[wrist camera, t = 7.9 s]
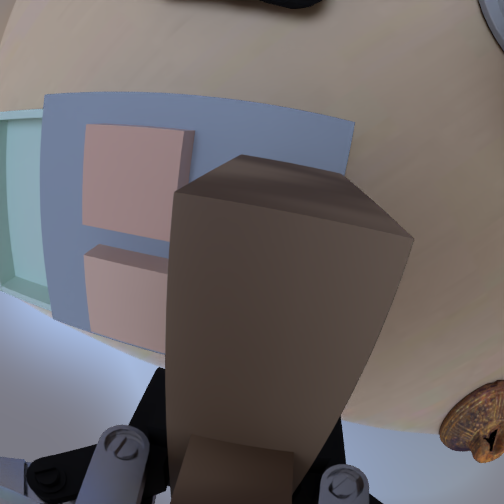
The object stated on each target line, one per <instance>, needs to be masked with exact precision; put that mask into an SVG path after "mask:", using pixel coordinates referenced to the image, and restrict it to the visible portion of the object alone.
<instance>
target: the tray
mask: <svg viewBox="0 0 504 504" xmlns="http://www.w3.org/2000/svg"><path fill="white" fill-rule="evenodd" d="M42 117H43V109H32V110H19V111H7V112H0V291H2V292H5V293H7V294H9V295H12V296H14V297H16V298H19V299H21V300H24V301H26V302H29V303H31V304H34V305H36V306H39V307H42V308H44V309H47V310H50V311H52V310H51V305H50V299H49V293H48V286H47V279H46V271H45V263H44V254H43V243H42V230H41V213H40V147H41V130H42Z"/></svg>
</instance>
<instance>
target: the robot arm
mask: <svg viewBox="0 0 504 504" xmlns="http://www.w3.org/2000/svg"><path fill="white" fill-rule="evenodd" d="M479 3H480V6H481V9H482V12H483V14H484V17H485V19H486V21H487V23H488V26H489V28H490V29H491V31H492V33H493V35H494V37H495V38H496V40H497V41H498V43H499V44H500V46H501V47H502V49H503V51H504V0H479ZM167 486H170V477H169V463H168V447H167V426H166V390H165V369H163V368H160V367H159V368H157V370H156V371H155V373H154V375H153V377H152V379H151V381H150V383H149V385H148V387H147V389H146V391H145V393H144V395H143V397H142V399H141V401H140V403H139V405H138V407H137V409H136V411H135V413H134V415H133V417H132V419H131V421H130V423H129V425H117V426H113V427H110V428H108V429H107V430H106V431H105V432H103V433H102V435H101V437H100V438H99V441H98V444H95V445H92V446H88V447H84V448H80V449H76V450H73V451H69V452H64V453H61V454H56V455H51V456H47V457H42V458H39V459H37V460H35V461H34V462H32V463H30V462H26V461H25V460H24V459H14V458H6V457H0V504H154V503H155V499H156V495H157V494H159V493H161V492H164V491H166V488H167ZM292 504H383V503H381V502H380V501H378V500H377V499H376V498H375V497H373V496H372V495H371V494H369V483H368V479H367V477H366V476H365V474H364V473H363V472H362V471H361V470H360V469H358V468H356V467H354V466H351V465H347V464H346V459H345V450H344V442H343V432H342V424H341V416H340V417H339V419H338V421H337V423H336V424H335V426H334V428H333V430H332V432H331V433H330V435H329V437H328V439H327V440H326V442H325V444H324V445H323V447H322V449H321V451H320V452H319V454H318V456H317V457H316V459H315V460H314V462H313V464H312V465H311V467H310V468H309V470H308V472H307V473H306V475H305V476H304V478H303V479H302V481H301V482H300V484H299V485H298V487H297V488H296V490H295V491H294V493H293V494H292Z"/></svg>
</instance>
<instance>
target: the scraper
mask: <svg viewBox="0 0 504 504" xmlns="http://www.w3.org/2000/svg"><path fill="white" fill-rule="evenodd" d="M413 242H414V238H413V237H412V236H411V235H410V234H409V233H407V232H406V231H405V230H404V229H403V228H402V227H401V226H400V225H399V224H398V223H397V222H396V221H395V220H394V219H393V218H391V217H390V216H389V215H388V214H387V213H386V212H385V211H384V210H383V209H382V208H380V207H379V206H378V205H377V204H376V203H375V202H374V201H373V200H371V199H370V198H369V197H368V196H367V195H366V194H364V193H363V192H362V191H361V190H360V189H359V188H358V187H356V186H355V185H354V184H353V183H352V182H350V181H349V180H348V179H347V178H346V177H344V176H343V175H342V174H341V173H336V172H332V171H327V170H323V169H318V168H313V167H308V166H303V165H298V164H293V163H288V162H283V161H278V160H272V159H266V158H261V157H255V156H249V155H243V154H241V155H239V156H237V157H235V158H233V159H231V160H230V161H228V162H226V163H224V164H222V165H220V166H219V167H217V168H215V169H213V170H211V171H210V172H208V173H206V174H204V175H202V176H201V177H199V178H197V179H195V180H194V181H192V182H190V183H188V184H187V185H185V186H183V187H181V188H180V189H178V190H176V191H175V192H174V196H173V207H172V218H171V230H170V244H169V259H168V277H167V300H166V337H165V390H166V426H167V447H168V463H169V477H170V488H171V502H170V504H292V494H293V493H294V491H295V490H296V488H297V487H298V485H299V484H300V482H301V481H302V479H303V478H304V476H305V475H306V473H307V472H308V470H309V468H310V467H311V465H312V464H313V462H314V460H315V459H316V457H317V456H318V454H319V452H320V451H321V449H322V447H323V445H324V444H325V442H326V440H327V439H328V437H329V435H330V433H331V432H332V430H333V428H334V426H335V424H336V423H337V421H338V419H339V417H340V415H341V413H342V412H343V410H344V408H345V406H346V404H347V402H348V400H349V398H350V396H351V394H352V392H353V390H354V388H355V386H356V384H357V382H358V380H359V378H360V376H361V374H362V372H363V370H364V368H365V366H366V363H367V361H368V359H369V357H370V355H371V352H372V350H373V348H374V346H375V343H376V341H377V339H378V336H379V334H380V332H381V329H382V327H383V325H384V322H385V320H386V317H387V315H388V312H389V310H390V307H391V305H392V302H393V299H394V297H395V294H396V291H397V289H398V286H399V283H400V280H401V278H402V275H403V272H404V269H405V266H406V263H407V260H408V257H409V254H410V251H411V248H412V245H413Z"/></svg>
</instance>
